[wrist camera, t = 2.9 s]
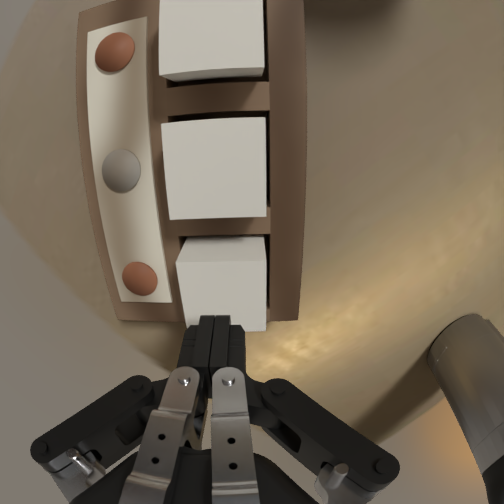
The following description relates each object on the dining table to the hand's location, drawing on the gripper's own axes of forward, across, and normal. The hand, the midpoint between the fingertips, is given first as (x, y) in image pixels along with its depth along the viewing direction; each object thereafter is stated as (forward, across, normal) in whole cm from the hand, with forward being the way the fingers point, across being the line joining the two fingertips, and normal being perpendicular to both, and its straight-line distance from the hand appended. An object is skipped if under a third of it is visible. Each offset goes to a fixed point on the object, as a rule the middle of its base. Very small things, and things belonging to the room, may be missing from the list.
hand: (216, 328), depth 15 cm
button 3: (+6, 0, -15) cm, 16 cm away
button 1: (+6, 0, 0) cm, 6 cm away
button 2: (+6, 0, -7) cm, 10 cm away
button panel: (+10, +2, -7) cm, 12 cm away
